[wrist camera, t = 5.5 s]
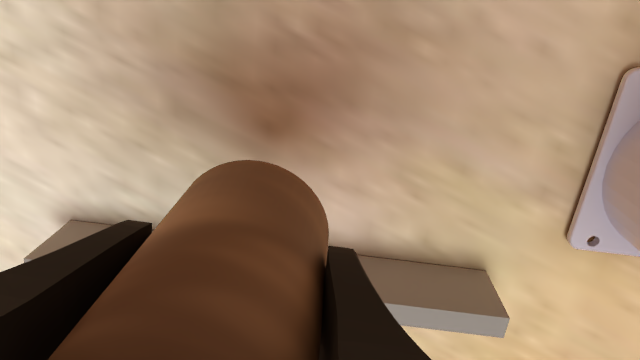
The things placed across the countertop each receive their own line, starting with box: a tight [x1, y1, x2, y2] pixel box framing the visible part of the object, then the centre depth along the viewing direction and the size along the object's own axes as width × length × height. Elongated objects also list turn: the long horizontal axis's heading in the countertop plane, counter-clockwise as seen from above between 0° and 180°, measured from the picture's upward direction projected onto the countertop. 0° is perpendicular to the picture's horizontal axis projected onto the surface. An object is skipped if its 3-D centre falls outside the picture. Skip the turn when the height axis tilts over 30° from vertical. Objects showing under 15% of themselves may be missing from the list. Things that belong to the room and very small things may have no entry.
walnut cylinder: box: [48, 160, 329, 360], centre depth 10 cm, size 4×4×7 cm
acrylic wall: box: [24, 220, 510, 338], centre depth 21 cm, size 20×1×4 cm, turn 84°
